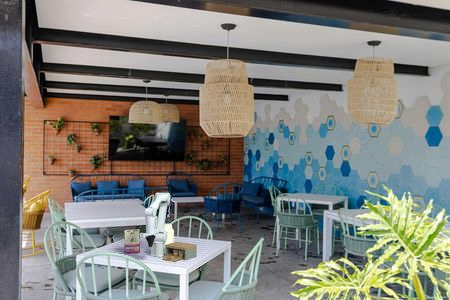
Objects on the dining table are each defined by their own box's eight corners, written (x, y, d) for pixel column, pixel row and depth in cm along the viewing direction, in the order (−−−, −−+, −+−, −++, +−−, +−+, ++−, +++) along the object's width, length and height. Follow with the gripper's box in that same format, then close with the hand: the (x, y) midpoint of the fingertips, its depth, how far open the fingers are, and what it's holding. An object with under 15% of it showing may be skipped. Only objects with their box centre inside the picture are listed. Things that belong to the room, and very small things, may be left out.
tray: (162, 260, 281) (162, 252, 281) (176, 255, 292) (176, 247, 292) (174, 262, 275) (174, 254, 275) (187, 257, 287) (187, 249, 287)
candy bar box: (140, 251, 305) (140, 229, 305) (140, 253, 300) (140, 230, 300) (124, 252, 302) (124, 229, 302) (124, 254, 297) (124, 230, 297)
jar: (169, 241, 338) (169, 222, 338) (176, 243, 330) (176, 224, 330) (157, 243, 331) (157, 224, 331) (163, 245, 323) (163, 226, 323)
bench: (165, 256, 289) (165, 244, 289) (176, 253, 299) (176, 241, 299) (186, 260, 279) (186, 248, 279) (196, 256, 290) (196, 244, 290)
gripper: (147, 228, 268) (147, 249, 268) (162, 225, 280) (162, 245, 280) (139, 227, 271) (139, 248, 271) (154, 224, 284) (154, 244, 284)
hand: (150, 246), depth 276 cm, fingers closed
